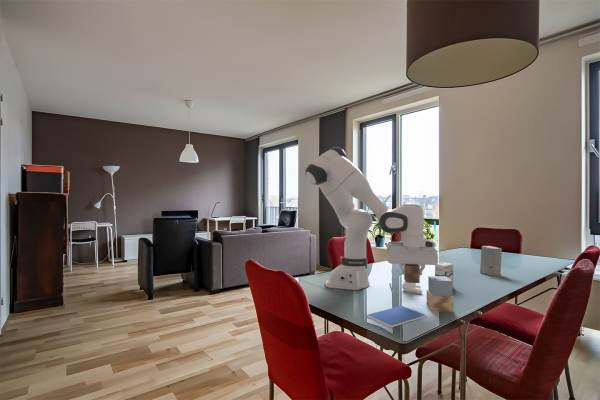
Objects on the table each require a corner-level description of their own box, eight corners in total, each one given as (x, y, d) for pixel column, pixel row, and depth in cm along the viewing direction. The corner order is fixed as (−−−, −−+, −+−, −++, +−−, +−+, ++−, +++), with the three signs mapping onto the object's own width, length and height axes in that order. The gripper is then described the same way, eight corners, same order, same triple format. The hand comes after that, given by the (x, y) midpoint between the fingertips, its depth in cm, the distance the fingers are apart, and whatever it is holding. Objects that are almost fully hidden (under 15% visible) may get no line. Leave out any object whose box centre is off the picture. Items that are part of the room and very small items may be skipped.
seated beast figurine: (423, 294, 139) (422, 268, 139) (403, 293, 141) (402, 267, 141) (419, 289, 148) (419, 264, 148) (401, 288, 150) (401, 263, 150)
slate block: (433, 295, 119) (433, 280, 119) (428, 290, 126) (428, 276, 126) (452, 296, 118) (452, 281, 118) (446, 291, 125) (446, 276, 125)
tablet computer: (401, 308, 124) (401, 304, 124) (428, 318, 113) (428, 314, 113) (365, 318, 114) (365, 314, 114) (391, 330, 103) (391, 326, 103)
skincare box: (479, 273, 179) (479, 246, 179) (489, 272, 181) (488, 245, 181) (492, 276, 171) (492, 248, 171) (502, 275, 173) (502, 247, 173)
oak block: (431, 311, 119) (431, 296, 119) (426, 304, 127) (426, 290, 127) (453, 312, 118) (453, 296, 118) (447, 305, 125) (447, 290, 125)
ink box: (444, 290, 146) (443, 265, 146) (434, 287, 150) (434, 263, 150) (453, 287, 150) (453, 263, 150) (444, 285, 155) (444, 261, 155)
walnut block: (407, 282, 126) (407, 265, 126) (404, 279, 131) (404, 263, 131) (419, 283, 126) (419, 266, 126) (416, 279, 131) (416, 263, 131)
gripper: (388, 242, 126) (387, 275, 126) (439, 243, 124) (439, 277, 124) (385, 240, 132) (385, 271, 132) (434, 241, 130) (434, 273, 130)
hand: (411, 274), depth 128 cm, fingers closed on walnut block, 5 cm apart
